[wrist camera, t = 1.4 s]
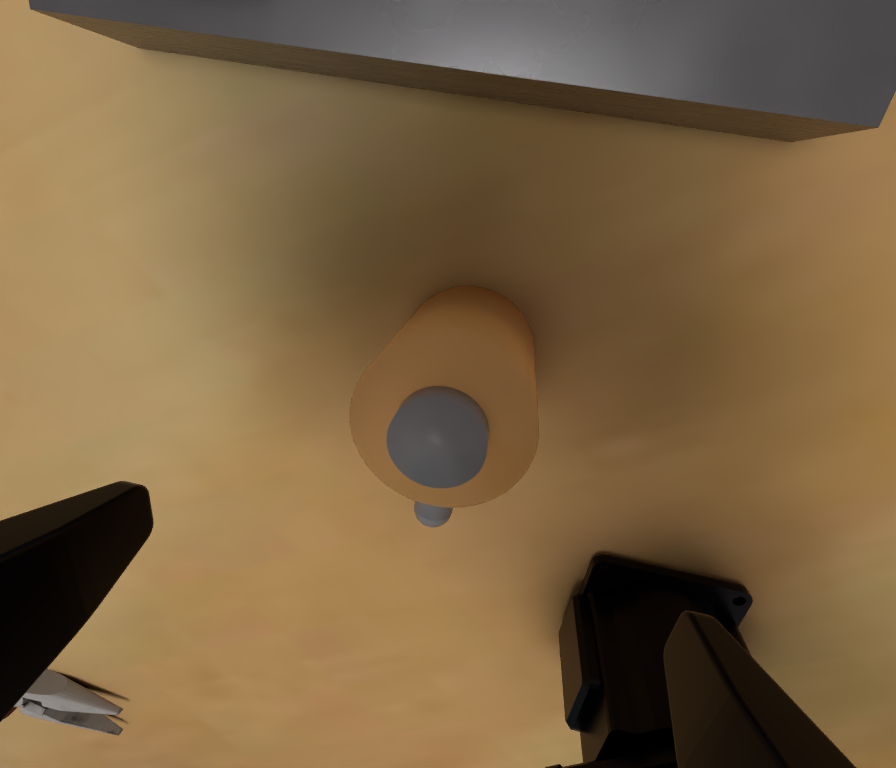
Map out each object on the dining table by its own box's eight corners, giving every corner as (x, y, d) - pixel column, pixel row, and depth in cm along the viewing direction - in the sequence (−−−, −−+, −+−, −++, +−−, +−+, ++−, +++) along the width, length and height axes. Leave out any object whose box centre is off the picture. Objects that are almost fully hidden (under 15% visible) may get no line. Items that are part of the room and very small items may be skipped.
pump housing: (547, 299, 16) (562, 373, 10) (509, 460, 18) (501, 598, 12) (412, 275, 16) (343, 331, 10) (394, 436, 19) (331, 558, 13)
